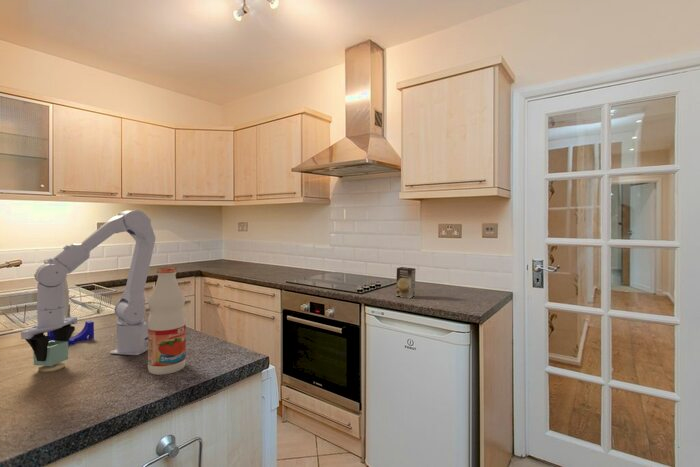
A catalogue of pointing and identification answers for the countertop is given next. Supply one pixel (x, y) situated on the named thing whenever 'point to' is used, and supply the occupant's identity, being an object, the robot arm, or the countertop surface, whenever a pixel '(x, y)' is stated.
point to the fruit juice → (166, 325)
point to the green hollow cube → (54, 353)
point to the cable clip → (81, 336)
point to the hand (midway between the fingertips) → (51, 356)
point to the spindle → (51, 367)
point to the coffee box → (405, 282)
